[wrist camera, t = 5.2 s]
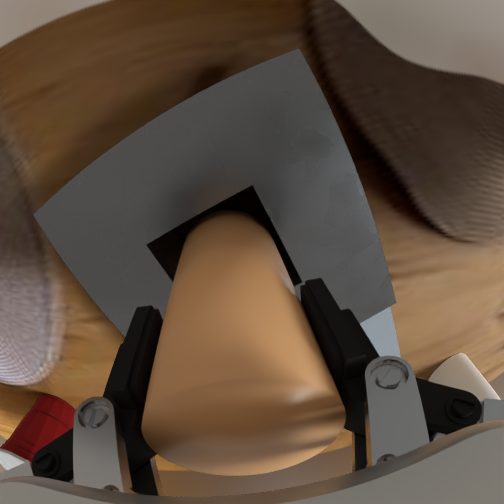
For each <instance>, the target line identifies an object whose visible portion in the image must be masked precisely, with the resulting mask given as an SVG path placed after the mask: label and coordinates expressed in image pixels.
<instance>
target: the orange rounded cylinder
mask: <svg viewBox="0 0 504 504" xmlns="http://www.w3.org/2000/svg"><path fill="white" fill-rule="evenodd" d="M345 421H346V412H345V408H344V405H343V403H342V400H341V398H340V395H339V393H338V390H337V388H336V385H335V383H334V380H333V378H332V376H331V373H330V371H329V368H328V366H327V363H326V361H325V359H324V356H323V354H322V351H321V349H320V347H319V344H318V342H317V339H316V337H315V335H314V332H313V330H312V328H311V325H310V323H309V321H308V318H307V316H306V314H305V311H304V309H303V307H302V304H301V302H300V300H299V297H298V295H297V293H296V290H295V288H294V286H293V284H292V281H291V279H290V277H289V274H288V272H287V270H286V268H285V265H284V263H283V261H282V259H281V256H280V254H279V252H278V250H277V247H276V245H275V243H274V241H273V238H272V236H271V234H270V232H269V230H268V229H267V228H266V226H265V225H264V224H263V223H262V222H261V221H260V220H258V219H257V218H256V217H254V216H252V215H250V214H248V213H245V212H242V211H237V210H221V211H217V212H213V213H211V214H208V215H207V216H205V217H203V218H202V219H200V220H199V221H198V222H197V223H196V224H195V225H194V226H193V227H192V228H191V229H190V231H189V233H188V234H187V237H186V239H185V242H184V246H183V249H182V253H181V256H180V260H179V263H178V267H177V270H176V274H175V277H174V281H173V285H172V288H171V292H170V296H169V300H168V304H167V308H166V312H165V316H164V320H163V324H162V328H161V332H160V336H159V341H158V345H157V349H156V354H155V358H154V363H153V368H152V372H151V377H150V382H149V387H148V392H147V397H146V402H145V408H144V413H143V419H142V427H141V429H142V434H143V437H144V439H145V441H146V442H147V444H148V445H149V446H150V447H151V448H152V449H153V450H154V451H155V452H156V453H157V454H158V455H160V456H161V457H163V458H164V459H166V460H168V461H170V462H172V463H174V464H176V465H178V466H181V467H184V468H187V469H190V470H194V471H198V472H202V473H208V474H215V475H230V476H231V475H232V476H239V475H254V474H261V473H267V472H272V471H276V470H280V469H284V468H287V467H290V466H293V465H295V464H298V463H300V462H303V461H305V460H307V459H309V458H311V457H313V456H315V455H316V454H318V453H319V452H321V451H322V450H324V449H325V448H326V447H327V446H329V445H330V444H331V443H332V442H333V441H334V440H335V439H336V438H337V436H338V435H339V434H340V432H341V431H342V429H343V427H344V424H345Z"/></svg>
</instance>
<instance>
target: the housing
mask: <svg viewBox="0 0 504 504" xmlns="http://www.w3.org/2000/svg"><path fill="white" fill-rule="evenodd" d="M251 185H252V186H253V188H254V190H255V191H256V193H257V195H258V197H259V199H260V201H261V203H262V205H263V207H264V208H265V210H266V212H267V214H268V216H269V218H270V220H271V222H272V224H273V226H274V228H275V229H276V231H277V233H278V235H279V237H280V239H281V241H282V243H283V245H284V247H282V248H280V249H278V252H279V254H280V256H281V259H282V261H283V263H284V265H285V268H286V270H287V272H288V274H289V277H290V279H291V281H292V284H293V286H294V288H295V290H296V293H297V295H298V297H299V300H300V302H301V294H300V286H301V285H305V281H306V280H311V279H316V278H322V280H323V281H324V283H325V285H326V286H327V288H328V289H329V291H330V293H331V294H332V296H333V298H334V299H335V301H336V303H337V304H338V306H339V308H340V309H341V310H343V309H350V310H351V311H352V312H353V314H354V315H355V317H356V319H357V320H358V322H359V323H362V322H363V321H365V320H367V319H369V318H371V317H372V316H374V315H376V314H378V313H379V312H381V311H383V310H385V309H386V308H388V307H390V306H391V305H393V304H395V303H396V300H395V296H394V291H393V287H392V283H391V279H390V275H389V271H388V267H387V263H386V260H385V256H384V252H383V249H382V245H381V242H380V238H379V235H378V232H377V229H376V225H375V222H374V219H373V216H372V213H371V210H370V207H369V204H368V201H367V198H366V195H365V192H364V189H363V187H362V184H361V181H360V179H359V176H358V173H357V171H356V168H355V165H354V163H353V160H352V158H351V155H350V153H349V150H348V148H347V145H346V143H345V141H344V138H343V136H342V134H341V131H340V129H339V127H338V124H337V122H336V120H335V118H334V116H333V113H332V111H331V109H330V107H329V105H328V103H327V101H326V99H325V97H324V95H323V93H322V90H321V88H320V86H319V85H318V83H317V81H316V79H315V77H314V75H313V73H312V71H311V69H310V67H309V65H308V64H307V62H306V60H305V58H304V56H303V55H302V53H301V51H300V49H296V50H293V51H290V52H288V53H285V54H282V55H280V56H277V57H275V58H272V59H270V60H267V61H265V62H262V63H260V64H258V65H255V66H253V67H251V68H248V69H246V70H244V71H242V72H239V73H237V74H235V75H233V76H231V77H229V78H227V79H225V80H223V81H221V82H219V83H217V84H215V85H213V86H211V87H209V88H207V89H205V90H203V91H201V92H199V93H197V94H196V95H194V96H192V97H190V98H188V99H187V100H185V101H183V102H181V103H179V104H178V105H176V106H174V107H173V108H171V109H169V110H168V111H166V112H164V113H163V114H161V115H159V116H158V117H156V118H155V119H153V120H151V121H150V122H148V123H147V124H145V125H144V126H142V127H141V128H139V129H138V130H136V131H135V132H133V133H132V134H130V135H129V136H127V137H126V138H125V139H123V140H122V141H120V142H119V143H117V144H116V145H115V146H113V147H112V148H111V149H109V150H108V151H107V152H105V153H104V154H103V155H101V156H100V157H99V158H97V159H96V160H95V161H94V162H92V163H91V164H90V165H88V166H87V167H86V168H85V169H83V170H82V171H81V172H80V173H79V174H77V175H76V176H75V177H74V178H73V179H71V180H70V181H69V182H68V183H67V184H66V185H65V186H63V187H62V188H61V189H60V190H59V191H58V192H57V193H56V194H54V195H53V196H52V197H51V198H50V199H49V200H48V201H47V202H46V203H45V204H44V205H43V206H42V207H41V208H40V209H39V210H37V211H36V212H35V213H34V214H33V215H34V217H35V219H36V220H37V222H38V223H39V225H40V227H41V228H42V230H43V231H44V233H45V235H46V236H47V238H48V239H49V241H50V242H51V244H52V245H53V247H54V248H55V250H56V251H57V253H58V254H59V256H60V257H61V258H62V260H63V261H64V263H65V264H66V265H67V267H68V268H69V270H70V271H71V272H72V274H73V275H74V276H75V278H76V279H77V280H78V282H79V283H80V284H81V286H82V287H83V288H84V289H85V291H86V292H87V293H88V294H89V296H90V297H91V298H92V299H93V301H94V302H95V303H96V304H97V306H98V307H99V308H100V309H101V310H102V312H103V313H104V314H105V315H106V316H107V317H108V319H109V320H110V321H111V322H112V323H113V324H114V325H115V327H116V328H117V329H118V330H119V331H120V332H121V333H122V334H123V335H124V337H126V334H127V331H128V328H129V326H130V323H131V320H132V318H133V315H134V313H135V310H136V308H137V307H142V306H149V305H152V306H153V307H154V309H159V311H160V314H161V317H162V319H163V320H164V316H165V312H166V308H167V304H168V300H169V296H170V292H171V288H172V285H173V281H174V277H175V274H176V270H177V267H178V263H179V260H180V256H181V253H182V249H183V245H182V243H181V242H180V240H179V239H178V237H177V236H176V234H175V233H174V231H173V230H172V229H174V228H175V227H177V226H179V225H180V224H182V223H184V222H186V221H187V220H189V219H191V218H193V217H194V216H196V215H198V214H200V213H202V212H203V211H205V210H207V209H209V208H211V207H212V206H214V205H216V204H218V203H220V202H221V201H223V200H225V199H227V198H229V197H231V196H233V195H234V194H236V193H238V192H240V191H242V190H244V189H246V188H248V187H249V186H251Z"/></svg>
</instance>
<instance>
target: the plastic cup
mask: <svg viewBox="0 0 504 504" xmlns="http://www.w3.org/2000/svg"><path fill="white" fill-rule="evenodd" d="M74 415H75V409H74V408H73V407H72V406H70V405H69V404H68V403H67V402H65V401H63V400H62V399H60V398H58V397H55V396H52V395H46V394H44V395H42V396H41V397H40V398H39V399H38V400H37V401H36V402H35V404H34V405H33V407H32V408H31V410H30V411H29V412H28V413H27V414H26V415H25V417H24V418H23V419H22V421H21V422H20V424H19V425H18V426H17V428H16V429H15V431H14V432H13V434H12V435H11V437H10V438H9V439H8V440H7V441H6V442H5V444H3V445H2V446H1V447H0V464H1V465H2V466H3V467H4V468H5V469H6V470H9V469H12V468H14V467H16V466H18V465H20V464H22V463H25V462H27V461H30V462H31V463H32V460H33V457H34V455H35V454H36V452H37V451H38V450H40V449H41V448H42V447H44V446H46V445H47V444H49V443H50V442H52V441H53V440H55V439H56V438H58V437H59V436H61V435H62V434H64V433H65V432H67V431H68V430H70V429H71V428H73V426H74Z"/></svg>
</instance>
